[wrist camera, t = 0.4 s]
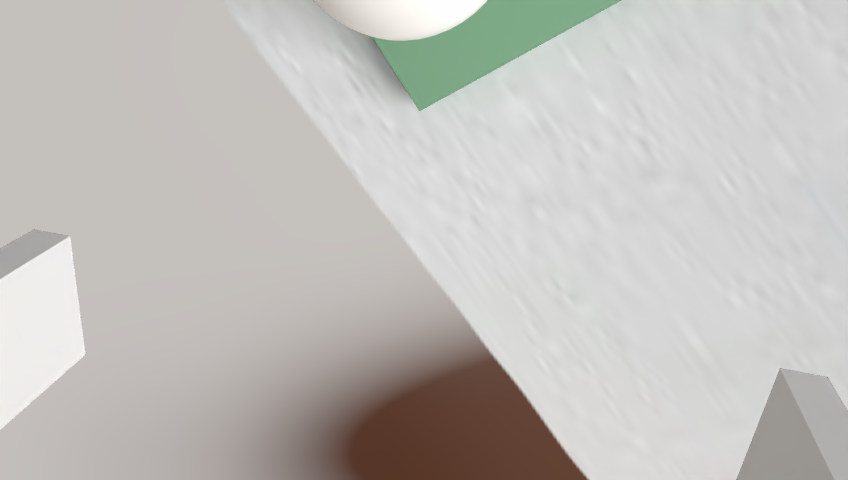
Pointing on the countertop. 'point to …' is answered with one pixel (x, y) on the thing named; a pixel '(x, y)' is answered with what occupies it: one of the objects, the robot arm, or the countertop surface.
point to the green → (481, 44)
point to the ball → (400, 16)
